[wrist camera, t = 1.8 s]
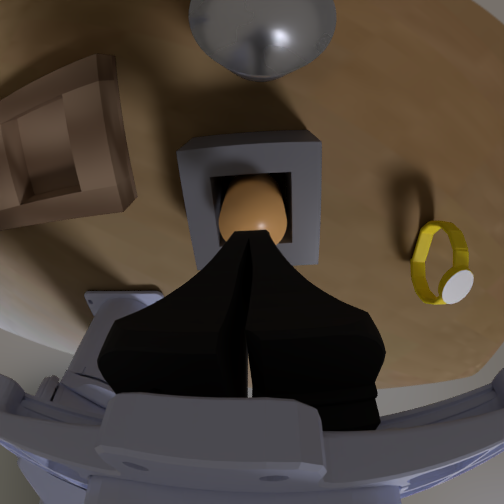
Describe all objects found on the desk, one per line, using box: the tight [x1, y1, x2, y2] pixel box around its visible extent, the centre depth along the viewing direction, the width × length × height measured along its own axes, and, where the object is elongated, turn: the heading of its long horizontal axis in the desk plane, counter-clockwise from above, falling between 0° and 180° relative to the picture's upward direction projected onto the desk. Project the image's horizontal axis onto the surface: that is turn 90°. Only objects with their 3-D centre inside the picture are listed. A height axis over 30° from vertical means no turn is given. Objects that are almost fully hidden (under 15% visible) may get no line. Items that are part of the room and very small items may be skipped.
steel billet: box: [189, 0, 336, 82], centre depth 10 cm, size 5×5×8 cm
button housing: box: [176, 130, 322, 270], centre depth 17 cm, size 7×7×4 cm
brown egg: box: [219, 173, 287, 245], centre depth 15 cm, size 3×3×4 cm
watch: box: [410, 221, 474, 304], centre depth 18 cm, size 6×3×6 cm, turn 176°
